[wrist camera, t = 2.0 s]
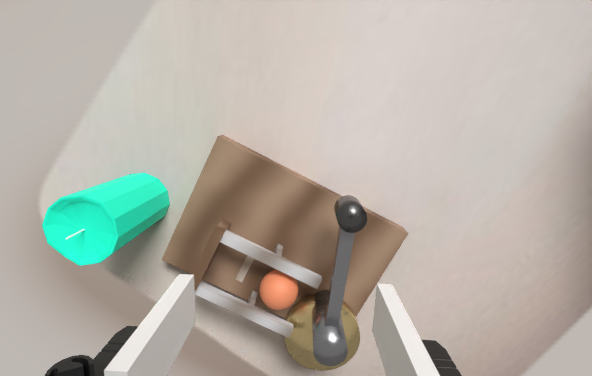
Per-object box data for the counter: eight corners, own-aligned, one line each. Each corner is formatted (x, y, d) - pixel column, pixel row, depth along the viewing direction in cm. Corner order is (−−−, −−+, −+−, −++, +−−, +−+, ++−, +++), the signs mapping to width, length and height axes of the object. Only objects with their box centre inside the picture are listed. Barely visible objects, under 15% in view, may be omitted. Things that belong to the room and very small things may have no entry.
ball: (305, 272, 36) (305, 292, 32) (288, 302, 36) (286, 324, 32) (272, 256, 35) (268, 274, 31) (255, 286, 36) (250, 307, 32)
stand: (402, 227, 36) (421, 248, 31) (337, 332, 39) (343, 370, 34) (222, 135, 35) (206, 138, 29) (168, 252, 38) (144, 277, 32)
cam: (425, 226, 34) (459, 258, 26) (335, 367, 38) (343, 430, 30) (337, 181, 33) (347, 200, 26) (254, 330, 37) (242, 385, 29)
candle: (106, 183, 36) (12, 215, 24) (155, 164, 36) (82, 188, 24) (130, 231, 37) (51, 285, 26) (178, 214, 37) (119, 261, 25)
